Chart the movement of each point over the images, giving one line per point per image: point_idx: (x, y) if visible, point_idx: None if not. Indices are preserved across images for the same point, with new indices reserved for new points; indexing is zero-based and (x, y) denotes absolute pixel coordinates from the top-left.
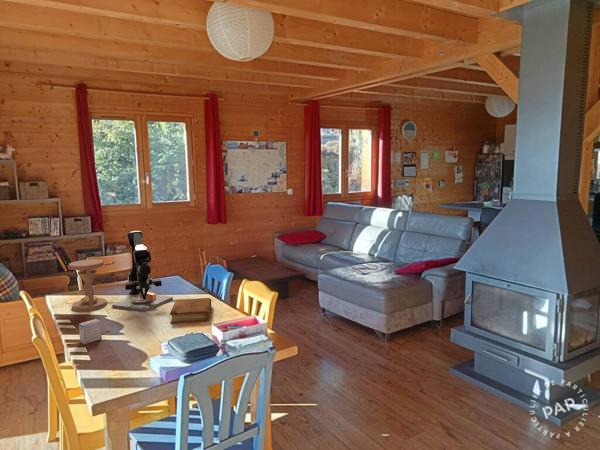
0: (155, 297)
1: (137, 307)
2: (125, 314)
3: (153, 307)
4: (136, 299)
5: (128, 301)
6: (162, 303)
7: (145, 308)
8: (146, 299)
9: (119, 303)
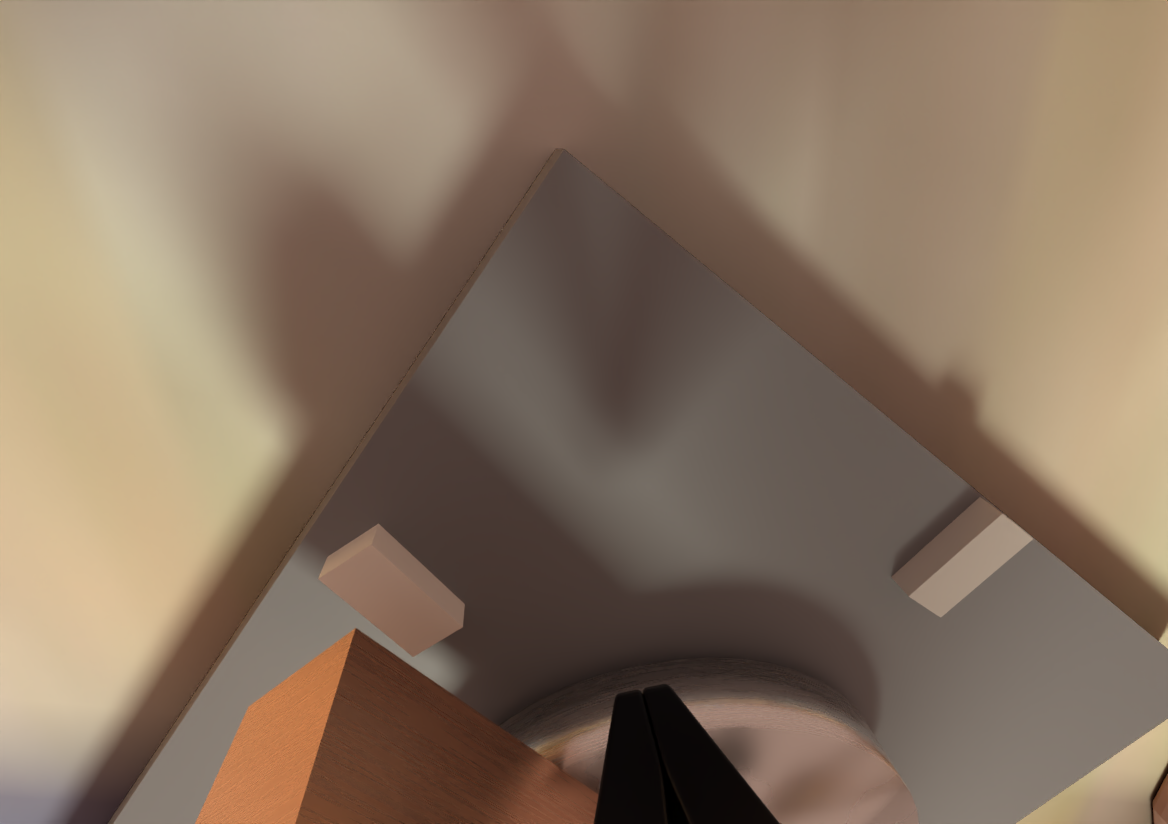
0: (224, 797)
1: (801, 410)
2: (1105, 93)
3: (363, 442)
4: (826, 800)
5: (915, 799)
6: (199, 685)
7: (567, 233)
8: (581, 779)
9: (1080, 729)
